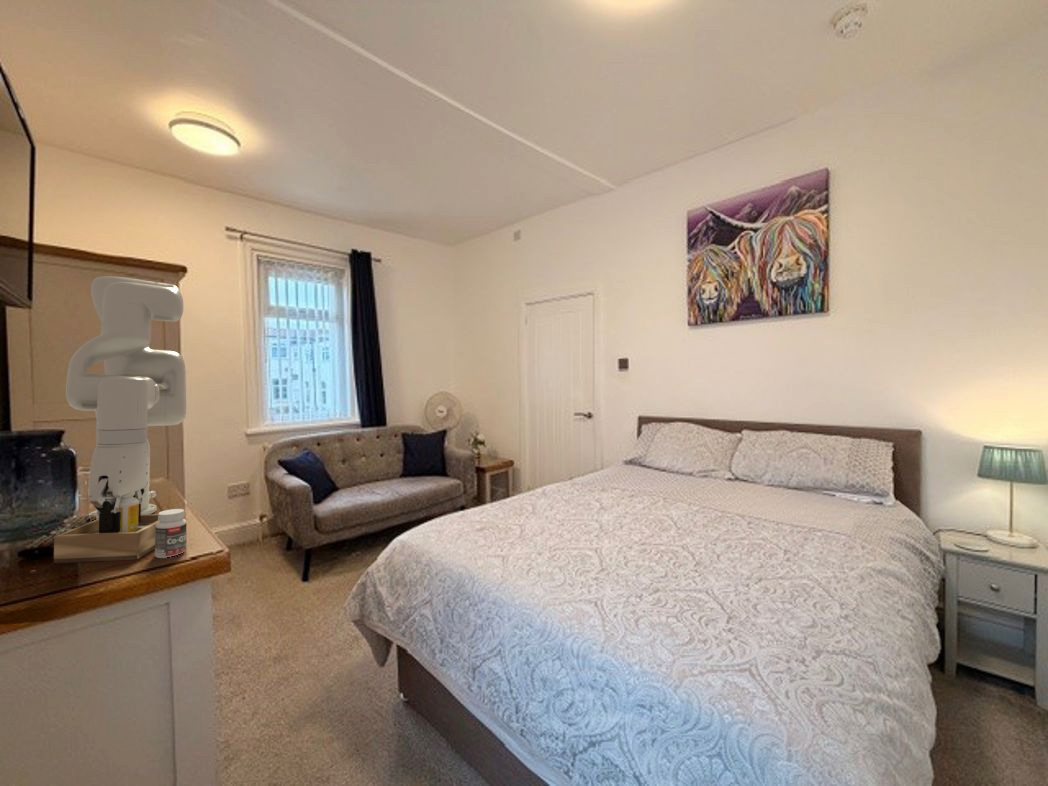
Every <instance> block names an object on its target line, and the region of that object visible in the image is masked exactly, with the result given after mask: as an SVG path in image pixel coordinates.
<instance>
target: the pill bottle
mask: <svg viewBox="0 0 1048 786" xmlns="http://www.w3.org/2000/svg"><path fill="white" fill-rule="evenodd" d="M157 514H158V521H160V522H158V523H157V524H156V528H155V549H154V556H155V557H156V558H158V559H168V558H167V557H170V558H172V557H171V556H174V555H178V554H180V553H183V552H184V551H185V550H186V549H187V520H186V519H185V509H184V508H172V509H165V510H162V511H159V512H158V513H157ZM185 552H186V551H185ZM185 552H184V553H185ZM184 553H183V554H184ZM178 556H179V555H178Z"/></svg>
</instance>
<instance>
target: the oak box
mask: <svg viewBox="0 0 1048 786" xmlns="http://www.w3.org/2000/svg"><path fill="white" fill-rule="evenodd" d="M158 522H160V521H158V513H155V514H153V513H151V514H144V515H141V521H140V522H139V523H138V531H136V532H120V533H99V518H98V519H96V520H94V521H92V520H90V521H89V522H86V523H84V524H82V525H79V526H76V527H74V528H72V529H69V530H67V531H64V532H62V533H59V534H57V535H54V537H53V538H54V539H53V564H54V563H56V564H71V563H72V564H73V563H89V562H90V563H92V562H110V561H111V562H112V561H115V562H116V561H130V560H132V561H133V560H138V559H140V558H142V557H143V556H145V555H147V554H149V553H150V552H151V551H153V550H154V551H155V528H156V524H157V523H158Z"/></svg>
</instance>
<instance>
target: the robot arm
mask: <svg viewBox="0 0 1048 786" xmlns="http://www.w3.org/2000/svg"><path fill="white" fill-rule="evenodd" d="M90 293H91V299H92V304H93V306H94V309H95V312H96V315H97V316H98V318H99V320H100V322H101V324H100V334H99V335H97V336H95V337H92V338H91V339H90V340H87V342H85V343H84V344H83V345H81V346H80V347H79V348H78V349H77V350H75V352H74V353H73V355H72V356H71V358H70V360H69V362H68V366H67V375H66V383H65V398H66V402H67V403H68V405H69V406H70V407H71V408H72V409H75V410H78V411H83V412H84V411H86V412H88V411H90V412H91V411H92V412H93V411H94V415H95V419H96V425H95V427H96V429H95V430H96V432H95V436H96V437H95V438H96V439H95V447H94V450H93V452H92V456H91V461H90V468H89V477H88V489H87V491H88V497H89V503H91V504H92V505H93V506H94V507H95V510H93V511H90V512H89V513H88V515H94V516H96V518H97V519H98V518H99V533H118V532H120V518H121V512H118V508H119V504H120V499H121V497H122V496H124V495H127V494H129V493H131V492H133V491H135V495H134V496H133V497H134V498H137V499H138V500H139V515H138V523H139V522H140V521H141V515H144V514H153V513H156V511H157V505H156V504H153V503H150V500H151V499H153V498H155V497H156V496H157V492H156V491H155V490H151V491H150V473H151V472H150V469H151V468H150V467H151V464H150V463H151V462H150V461H151V444H150V442H149V439H148V427H158V426H159V427H160V426H161V427H162V426H163V427H164V426H176V425H180V424H181V423H182V422H183V421H184V420H185V418H186V415H187V414H186V413H187V391H186V390H187V382H186V381H187V380H186V378H187V377H186V376H187V375H186V365H185V364H186V363H185V360H184V358H183V356H182V355H181V354H180V353H178V352H177V351H173V350H165V349H152V348H150V344H151V341H152V321H160V322H161V321H162V322H173V323H176V322H178V321H180V320H181V319H182V317H183V313H184V298H183V296H182V293H181V290H180V288H179V287H178V286H176V285H175V284H172V283H165V282H159V281H158V282H157V281H151V280H144V279H138V278H133V277H125V276H124V277H122V276H113V275H111V276H110V275H109V276H108V275H105V276H98V277H96V278H95V279H93V280H92V283H91V286H90ZM103 361H104V365H103V366H104V374H96V373H95V374H93V373H92V374H89V373H88V372H89V370H90V368H92V367H93V366H95V365H96V364H99V363H101V362H103ZM87 373H88V374H87ZM160 387H162V389H161V388H160ZM110 493H113V494H112V495H113V496H108V494H110ZM108 500H113V503H112V505H111V503H110V502H109V501H108Z"/></svg>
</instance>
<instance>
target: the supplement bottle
mask: <svg viewBox="0 0 1048 786" xmlns="http://www.w3.org/2000/svg"><path fill="white" fill-rule="evenodd" d="M112 494H113V493H110V494H108V496H113V495H112ZM134 495H135V491H133V492H131V493H129V494H127V495H124V496H122V497H121V499H120V504H119V508H118V512H121V518H120V532H136V531H138V515H139V500H138V499H137V498H134V497H133V496H134ZM108 501H109V502H110V503H111V505H112V503H113V500H108ZM120 532H118V533H120Z"/></svg>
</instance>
